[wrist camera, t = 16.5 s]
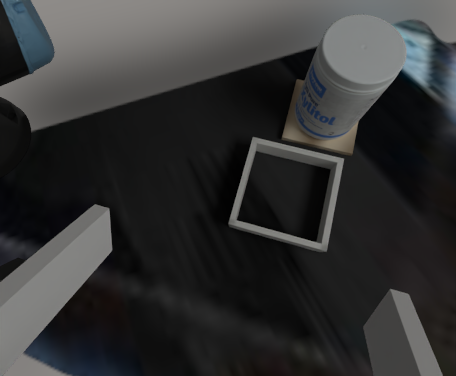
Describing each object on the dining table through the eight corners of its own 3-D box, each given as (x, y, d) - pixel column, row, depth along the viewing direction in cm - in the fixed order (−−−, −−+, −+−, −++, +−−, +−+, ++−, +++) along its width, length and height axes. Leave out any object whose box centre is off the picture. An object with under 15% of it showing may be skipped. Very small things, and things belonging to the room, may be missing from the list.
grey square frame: (229, 226, 41) (228, 224, 38) (252, 145, 44) (253, 137, 42) (320, 252, 40) (326, 251, 37) (336, 165, 43) (343, 158, 40)
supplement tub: (282, 122, 44) (302, 55, 30) (313, 79, 46) (345, -2, 32) (335, 154, 43) (382, 99, 28) (365, 109, 44) (424, 36, 30)
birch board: (281, 139, 44) (282, 137, 44) (296, 82, 47) (296, 79, 46) (350, 155, 43) (352, 153, 43) (361, 96, 46) (363, 93, 45)
